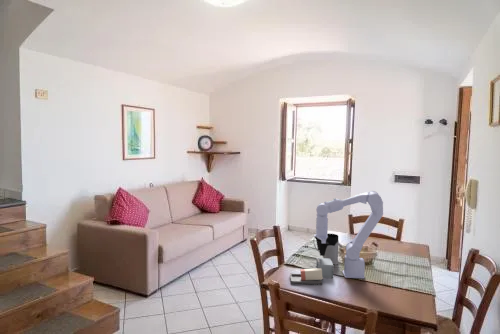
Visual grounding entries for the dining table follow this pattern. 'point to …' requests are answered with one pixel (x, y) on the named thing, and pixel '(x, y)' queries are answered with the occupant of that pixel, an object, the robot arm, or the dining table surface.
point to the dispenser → (325, 267)
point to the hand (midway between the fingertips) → (321, 252)
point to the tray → (297, 280)
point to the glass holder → (331, 248)
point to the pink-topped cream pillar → (311, 274)
